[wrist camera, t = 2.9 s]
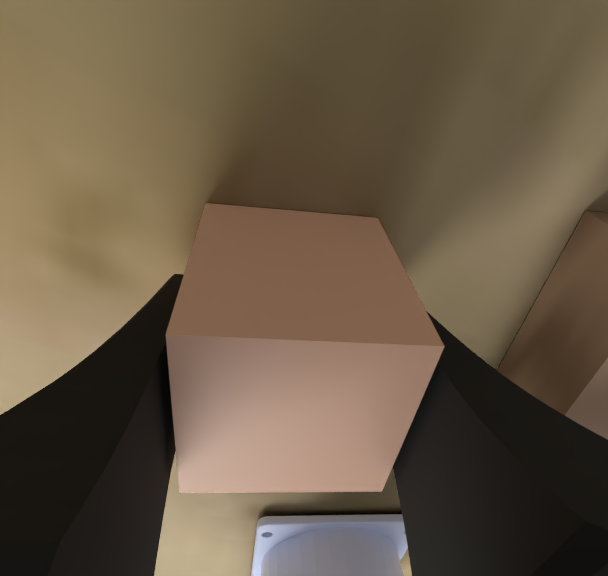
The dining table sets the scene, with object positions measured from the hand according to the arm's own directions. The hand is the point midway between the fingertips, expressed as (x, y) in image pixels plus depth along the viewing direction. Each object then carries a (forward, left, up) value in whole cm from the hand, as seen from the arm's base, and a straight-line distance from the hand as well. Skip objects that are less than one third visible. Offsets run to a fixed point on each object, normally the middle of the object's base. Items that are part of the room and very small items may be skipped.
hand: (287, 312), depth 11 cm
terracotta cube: (0, 0, -1) cm, 1 cm away
